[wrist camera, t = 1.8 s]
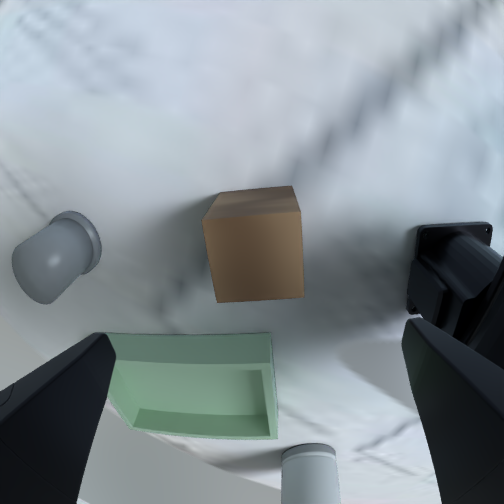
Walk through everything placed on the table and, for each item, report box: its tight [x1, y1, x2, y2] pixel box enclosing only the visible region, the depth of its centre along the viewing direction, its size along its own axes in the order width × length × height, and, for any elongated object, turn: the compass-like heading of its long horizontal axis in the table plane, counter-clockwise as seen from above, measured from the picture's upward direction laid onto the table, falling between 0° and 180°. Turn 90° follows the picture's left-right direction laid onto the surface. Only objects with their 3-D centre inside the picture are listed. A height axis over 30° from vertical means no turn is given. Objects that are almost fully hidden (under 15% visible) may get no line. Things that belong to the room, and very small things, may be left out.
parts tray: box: [105, 333, 278, 440], centre depth 22 cm, size 14×10×3 cm
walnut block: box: [201, 186, 304, 303], centre depth 15 cm, size 4×4×5 cm
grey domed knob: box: [12, 211, 101, 304], centre depth 16 cm, size 5×5×5 cm
